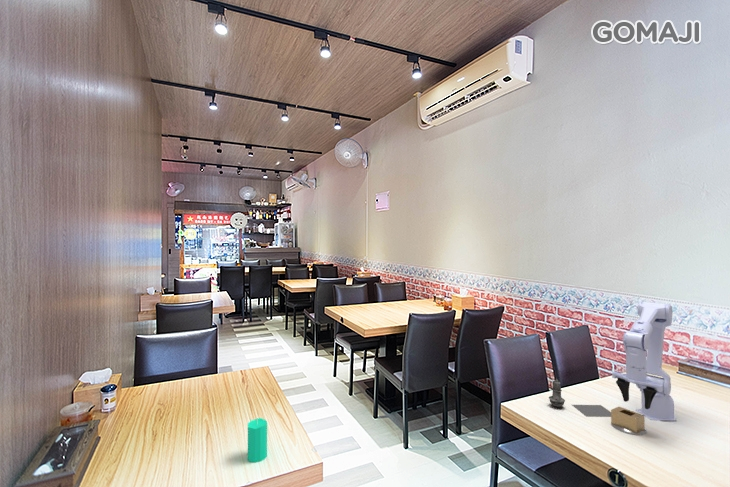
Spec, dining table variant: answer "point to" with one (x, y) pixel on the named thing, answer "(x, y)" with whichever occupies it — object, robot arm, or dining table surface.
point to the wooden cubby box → (628, 419)
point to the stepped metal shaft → (556, 396)
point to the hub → (628, 430)
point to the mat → (593, 410)
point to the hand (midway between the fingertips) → (636, 404)
